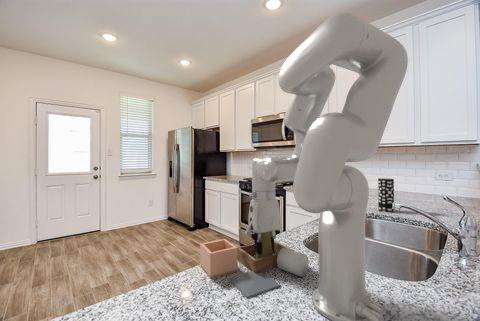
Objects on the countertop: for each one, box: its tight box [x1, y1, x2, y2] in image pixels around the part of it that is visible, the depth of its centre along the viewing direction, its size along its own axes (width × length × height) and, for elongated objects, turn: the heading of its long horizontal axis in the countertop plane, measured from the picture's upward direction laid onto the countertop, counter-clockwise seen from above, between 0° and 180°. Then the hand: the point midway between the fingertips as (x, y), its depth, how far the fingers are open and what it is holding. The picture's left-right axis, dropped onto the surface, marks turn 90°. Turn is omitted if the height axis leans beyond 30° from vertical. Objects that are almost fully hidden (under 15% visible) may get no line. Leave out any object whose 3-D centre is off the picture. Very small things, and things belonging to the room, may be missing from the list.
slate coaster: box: [228, 270, 281, 299], centre depth 60 cm, size 10×10×1 cm
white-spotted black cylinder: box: [377, 177, 395, 213], centre depth 141 cm, size 8×8×20 cm
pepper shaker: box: [255, 231, 274, 259], centre depth 73 cm, size 6×6×11 cm
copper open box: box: [199, 238, 239, 280], centre depth 68 cm, size 9×9×7 cm
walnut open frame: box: [236, 240, 295, 273], centre depth 73 cm, size 12×15×4 cm
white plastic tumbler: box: [277, 248, 309, 278], centre depth 66 cm, size 7×6×6 cm
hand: (264, 251), depth 73 cm, fingers closed on pepper shaker, 4 cm apart
